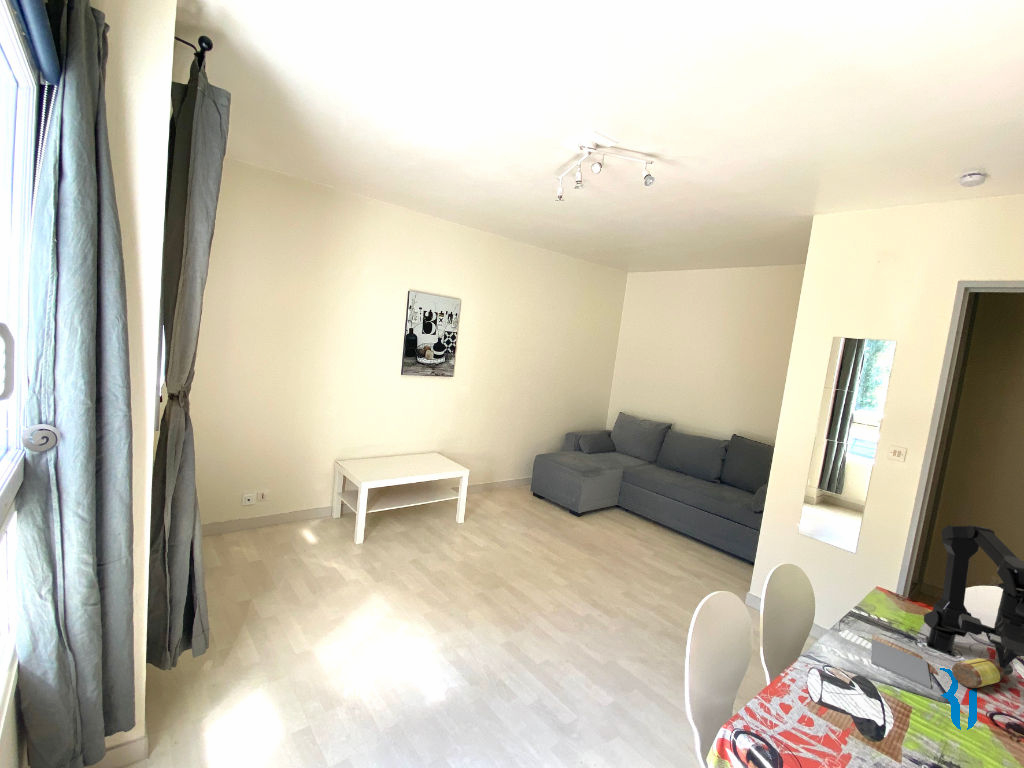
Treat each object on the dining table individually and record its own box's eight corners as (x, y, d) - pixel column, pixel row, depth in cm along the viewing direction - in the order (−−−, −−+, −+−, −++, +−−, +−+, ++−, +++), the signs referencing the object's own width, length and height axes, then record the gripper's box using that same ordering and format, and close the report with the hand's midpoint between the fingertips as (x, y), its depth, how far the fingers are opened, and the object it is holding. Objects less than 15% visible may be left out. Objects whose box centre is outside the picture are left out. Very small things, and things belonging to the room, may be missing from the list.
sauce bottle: (975, 693, 124) (1020, 686, 130) (979, 671, 124) (1023, 665, 130) (947, 677, 131) (990, 670, 137) (950, 656, 130) (993, 650, 136)
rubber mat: (872, 640, 144) (872, 639, 144) (926, 662, 136) (926, 661, 136) (871, 663, 133) (871, 661, 133) (930, 688, 125) (931, 686, 125)
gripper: (970, 608, 120) (957, 663, 121) (1079, 644, 108) (1064, 704, 110) (964, 593, 128) (952, 644, 130) (1064, 624, 117) (1050, 680, 118)
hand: (1001, 667), depth 122 cm, fingers closed
